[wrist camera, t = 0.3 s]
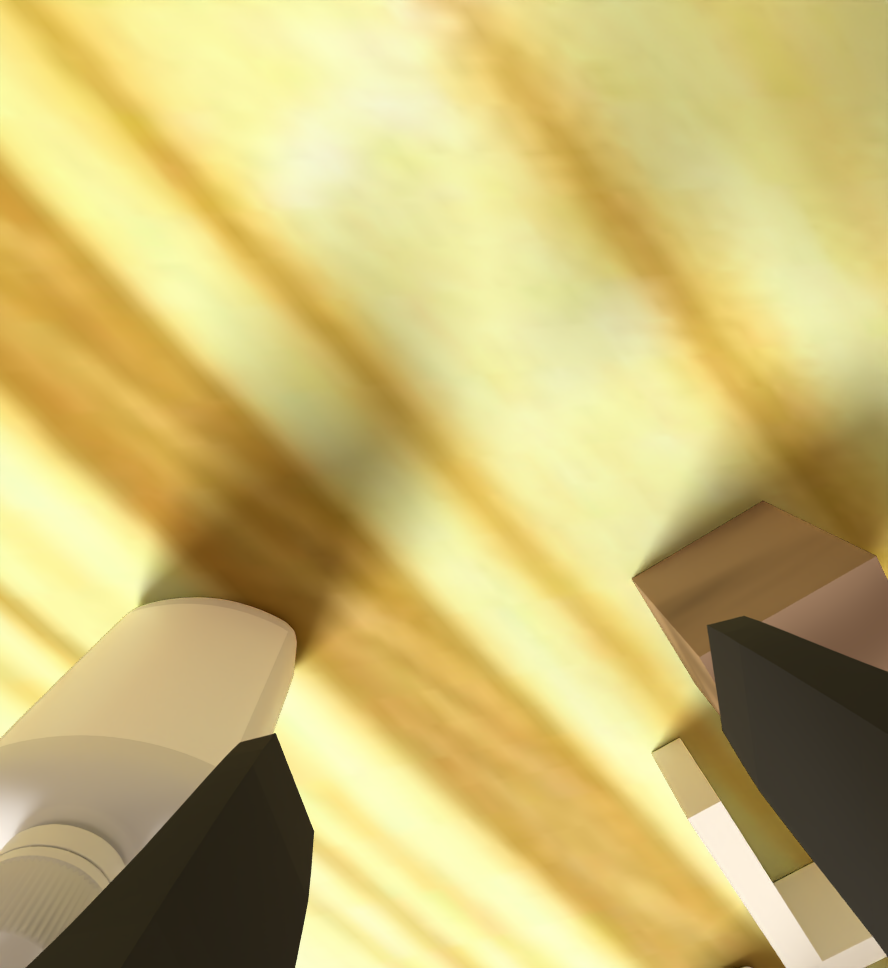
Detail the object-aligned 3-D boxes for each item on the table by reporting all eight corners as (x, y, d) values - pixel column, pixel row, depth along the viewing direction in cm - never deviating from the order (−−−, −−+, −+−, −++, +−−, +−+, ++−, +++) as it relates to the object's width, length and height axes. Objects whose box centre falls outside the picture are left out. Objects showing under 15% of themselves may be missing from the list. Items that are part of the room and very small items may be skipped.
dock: (995, 794, 23) (1079, 861, 20) (758, 915, 24) (805, 996, 21) (909, 610, 21) (990, 655, 18) (651, 753, 22) (687, 819, 19)
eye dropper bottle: (177, 546, 19) (-218, 898, 7) (321, 639, 20) (183, 1079, 8) (107, 643, 19) (-350, 1105, 8) (249, 728, 21) (32, 1244, 9)
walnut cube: (819, 613, 21) (944, 700, 16) (695, 683, 21) (778, 789, 16) (761, 500, 19) (876, 556, 15) (630, 577, 20) (699, 657, 15)
